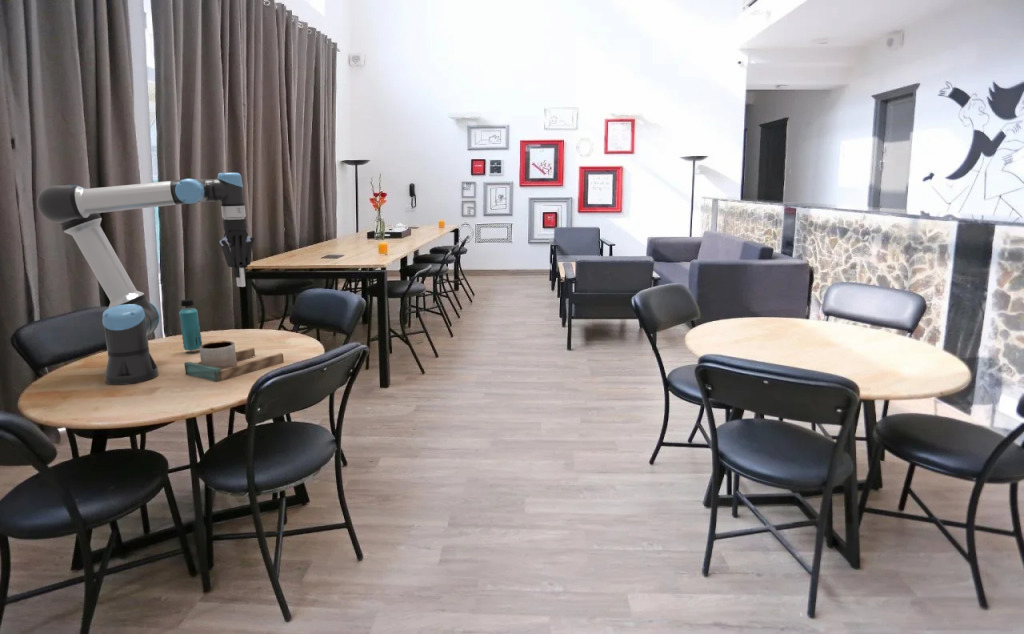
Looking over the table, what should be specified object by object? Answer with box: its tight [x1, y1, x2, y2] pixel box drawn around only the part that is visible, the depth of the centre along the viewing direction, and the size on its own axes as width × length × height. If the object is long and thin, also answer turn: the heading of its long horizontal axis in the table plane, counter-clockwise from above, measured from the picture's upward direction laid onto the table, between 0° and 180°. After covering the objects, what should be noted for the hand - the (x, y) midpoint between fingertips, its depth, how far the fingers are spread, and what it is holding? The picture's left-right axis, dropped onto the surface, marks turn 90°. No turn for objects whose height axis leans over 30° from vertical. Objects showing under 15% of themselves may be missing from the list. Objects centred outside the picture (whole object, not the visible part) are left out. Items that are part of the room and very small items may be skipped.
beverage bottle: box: [178, 298, 203, 351], centre depth 244 cm, size 6×7×20 cm
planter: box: [199, 340, 238, 370], centre depth 218 cm, size 11×11×10 cm
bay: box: [183, 347, 285, 383], centre depth 224 cm, size 26×17×4 cm, turn 148°
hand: (241, 286), depth 230 cm, fingers closed
